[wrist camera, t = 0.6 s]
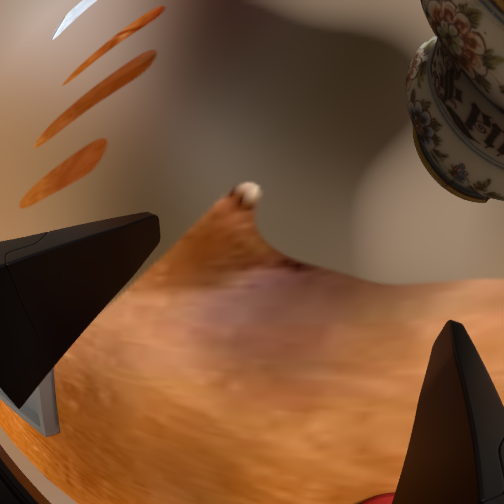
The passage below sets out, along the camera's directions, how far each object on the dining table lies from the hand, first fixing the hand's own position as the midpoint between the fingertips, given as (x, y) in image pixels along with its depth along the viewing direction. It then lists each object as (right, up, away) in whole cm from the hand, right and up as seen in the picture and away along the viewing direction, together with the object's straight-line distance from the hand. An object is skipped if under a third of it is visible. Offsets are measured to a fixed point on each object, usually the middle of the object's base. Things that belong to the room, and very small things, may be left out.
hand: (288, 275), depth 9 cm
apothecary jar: (+16, +9, +11) cm, 21 cm away
